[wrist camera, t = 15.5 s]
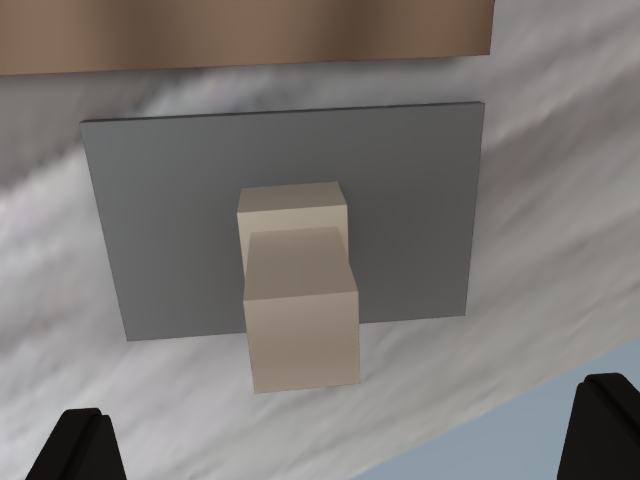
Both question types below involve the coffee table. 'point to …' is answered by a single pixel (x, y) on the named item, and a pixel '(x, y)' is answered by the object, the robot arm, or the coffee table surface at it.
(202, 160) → the mat
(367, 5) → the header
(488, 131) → the coffee table surface
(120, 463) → the robot arm
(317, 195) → the ivory plug
